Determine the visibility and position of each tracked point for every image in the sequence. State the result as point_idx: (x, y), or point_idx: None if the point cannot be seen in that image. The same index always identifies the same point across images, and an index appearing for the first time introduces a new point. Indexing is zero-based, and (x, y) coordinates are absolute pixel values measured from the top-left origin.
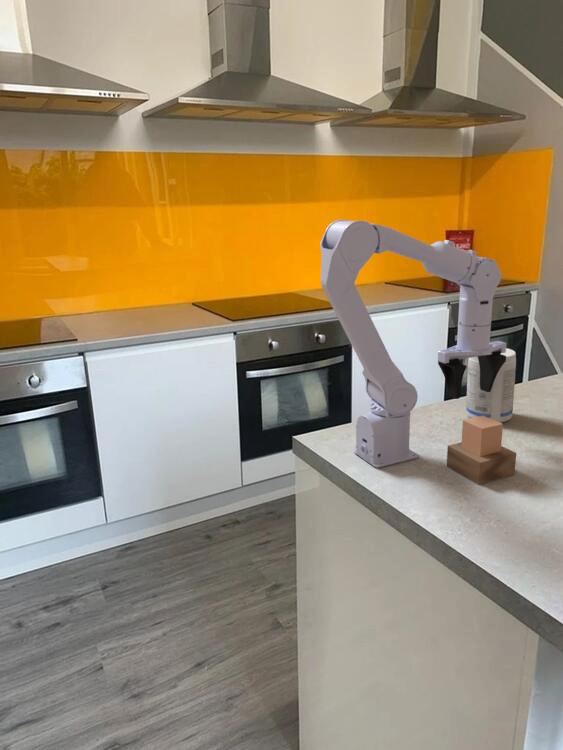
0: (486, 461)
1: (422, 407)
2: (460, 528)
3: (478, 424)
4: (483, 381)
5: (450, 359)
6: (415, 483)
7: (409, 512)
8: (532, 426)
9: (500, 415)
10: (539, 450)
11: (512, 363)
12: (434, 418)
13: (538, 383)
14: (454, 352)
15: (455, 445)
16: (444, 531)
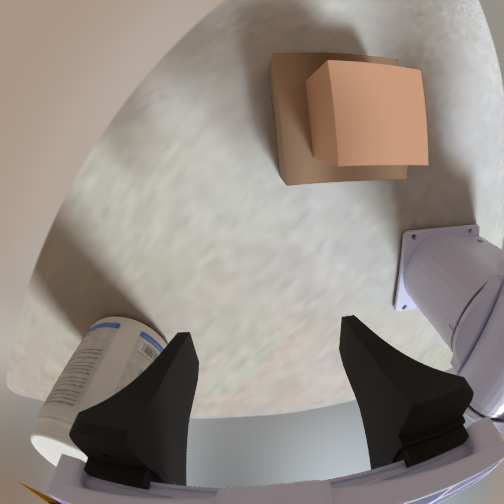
0: (378, 57)
1: (230, 416)
2: (460, 9)
3: (410, 103)
4: (189, 380)
5: (449, 449)
6: (462, 143)
7: (498, 80)
8: (73, 278)
9: (120, 325)
10: (122, 161)
11: (46, 416)
12: (240, 381)
13: (24, 390)
14: (473, 474)
15: (391, 170)
16: (478, 20)
